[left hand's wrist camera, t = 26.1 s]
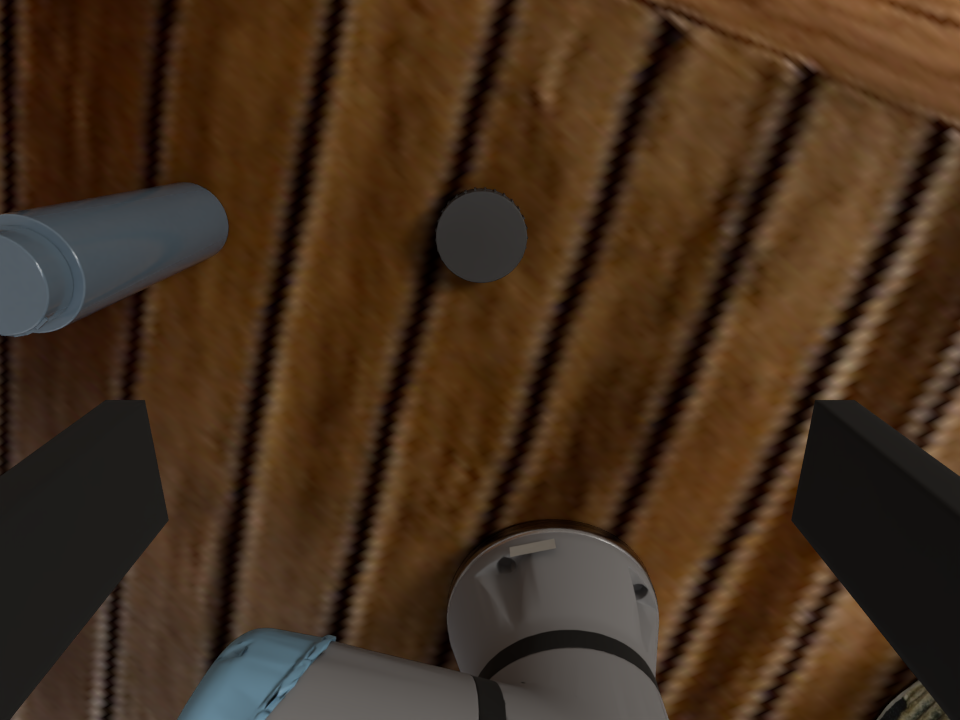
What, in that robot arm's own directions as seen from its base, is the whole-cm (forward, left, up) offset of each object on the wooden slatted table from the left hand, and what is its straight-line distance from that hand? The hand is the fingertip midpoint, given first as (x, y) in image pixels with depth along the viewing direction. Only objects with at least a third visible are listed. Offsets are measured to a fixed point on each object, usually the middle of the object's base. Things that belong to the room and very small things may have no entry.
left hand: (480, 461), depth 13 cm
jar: (-3, +17, -27) cm, 32 cm away
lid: (0, 0, -26) cm, 26 cm away
